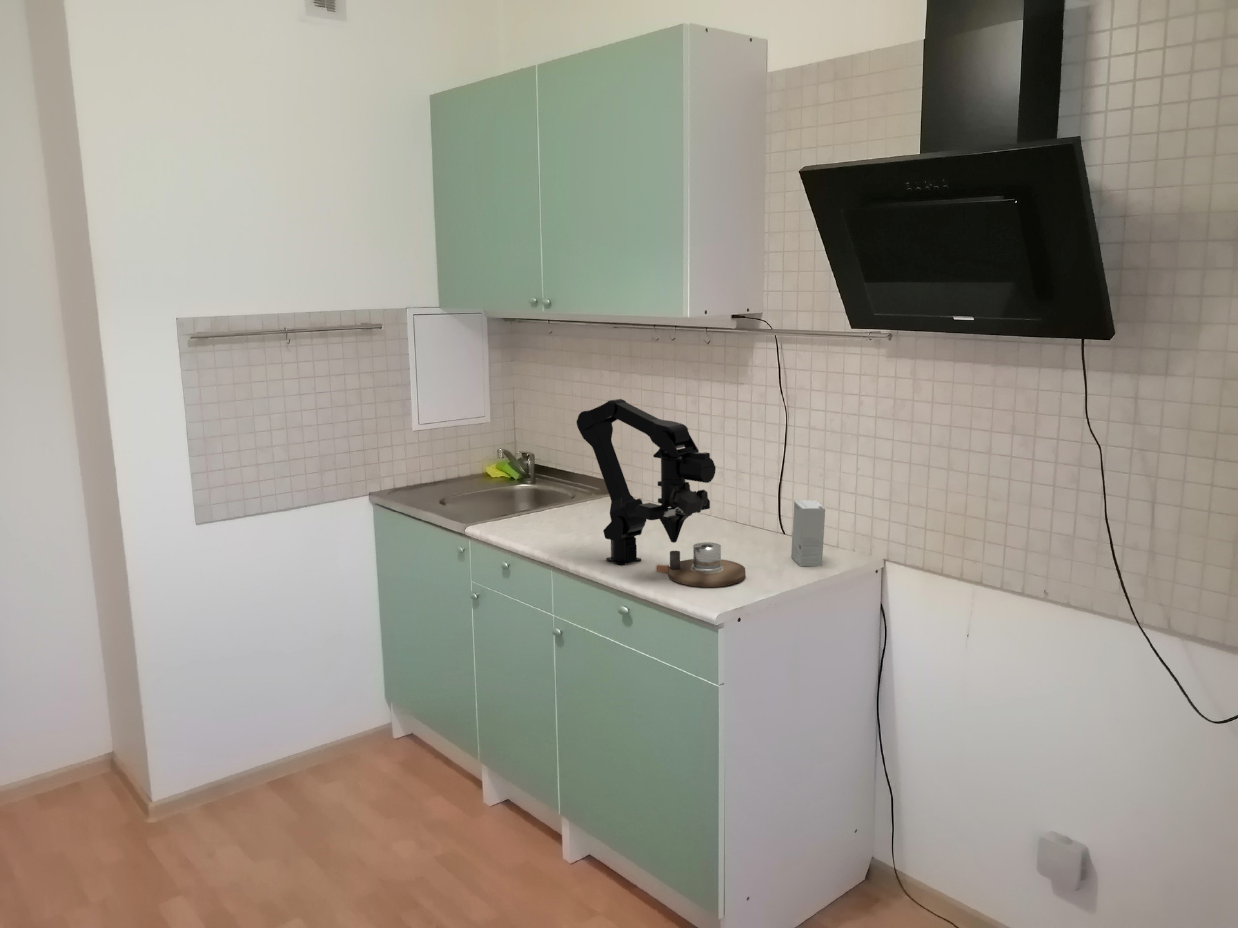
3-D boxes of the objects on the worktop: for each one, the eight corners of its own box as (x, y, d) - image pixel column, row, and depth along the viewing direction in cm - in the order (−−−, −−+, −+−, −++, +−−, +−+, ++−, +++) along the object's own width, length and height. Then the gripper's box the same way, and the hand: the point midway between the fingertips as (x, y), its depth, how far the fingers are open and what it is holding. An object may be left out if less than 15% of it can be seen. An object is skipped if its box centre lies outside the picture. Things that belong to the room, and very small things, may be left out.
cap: (691, 572, 226) (691, 549, 225) (692, 563, 233) (692, 541, 232) (722, 573, 225) (722, 550, 224) (722, 564, 232) (722, 541, 231)
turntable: (666, 585, 222) (666, 562, 221) (670, 563, 239) (670, 541, 238) (746, 587, 220) (746, 563, 219) (744, 564, 237) (744, 543, 236)
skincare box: (790, 557, 244) (791, 499, 241) (814, 556, 245) (815, 498, 242) (800, 567, 236) (801, 507, 233) (824, 566, 236) (825, 506, 234)
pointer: (656, 571, 234) (656, 565, 234) (657, 570, 235) (657, 564, 235) (668, 572, 233) (668, 566, 233) (669, 571, 234) (669, 565, 233)
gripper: (665, 488, 217) (665, 556, 220) (726, 477, 228) (725, 542, 231) (633, 481, 226) (634, 546, 229) (694, 470, 237) (694, 533, 240)
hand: (673, 542), depth 232 cm, fingers closed
